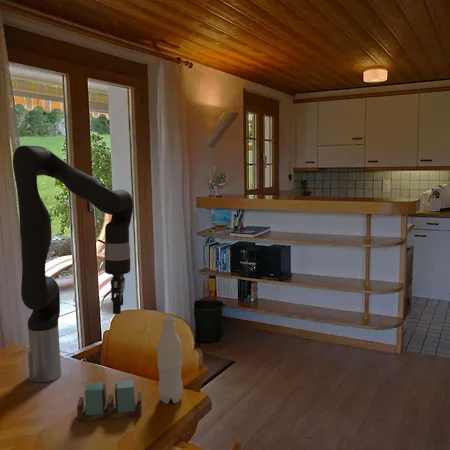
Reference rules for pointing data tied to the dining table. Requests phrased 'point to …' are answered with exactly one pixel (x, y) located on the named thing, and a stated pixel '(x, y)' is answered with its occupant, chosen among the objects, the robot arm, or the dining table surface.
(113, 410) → the rail
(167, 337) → the water bottle
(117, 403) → the teal block
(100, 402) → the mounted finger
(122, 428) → the dining table surface
